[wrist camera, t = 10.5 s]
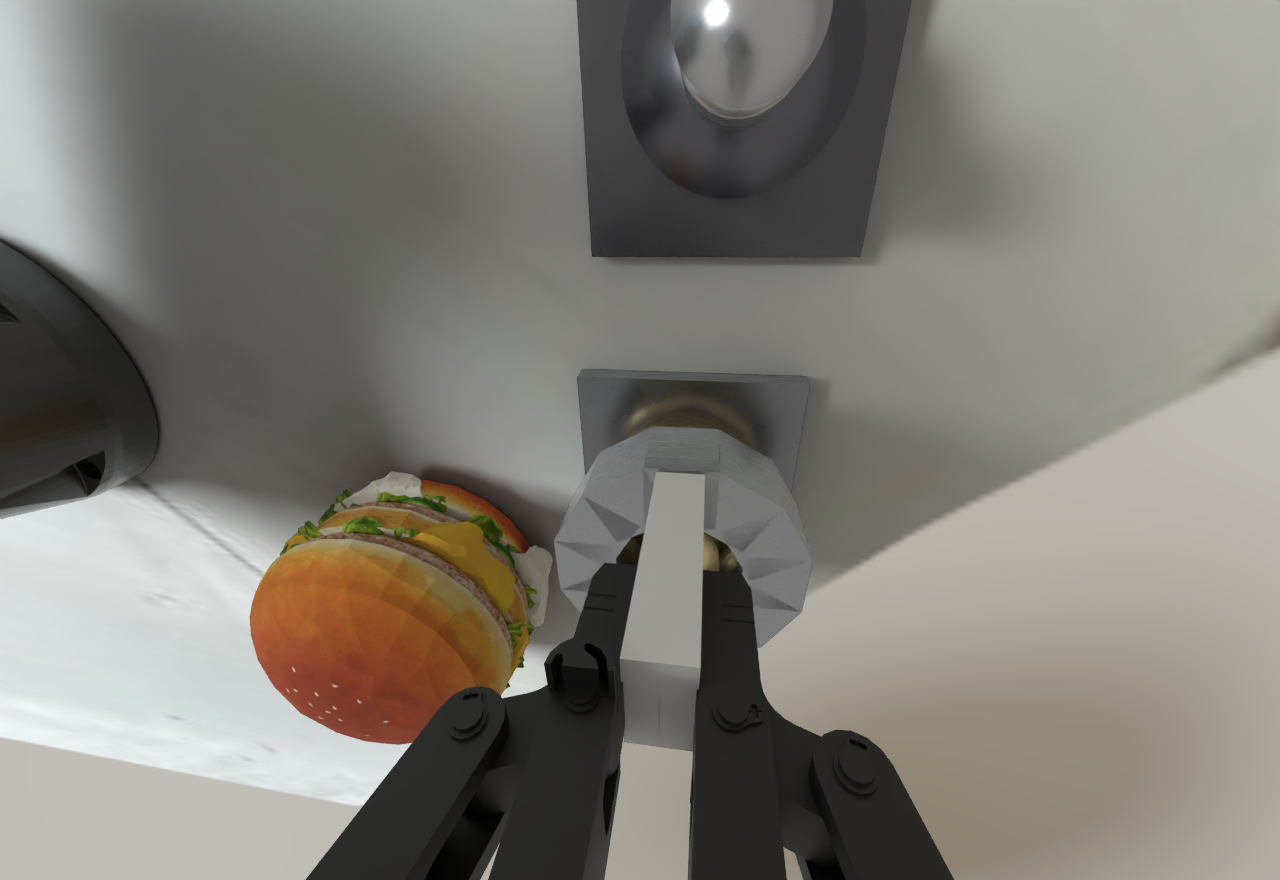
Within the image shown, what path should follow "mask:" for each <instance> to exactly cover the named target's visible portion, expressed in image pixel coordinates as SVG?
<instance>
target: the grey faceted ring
mask: <svg viewBox="0 0 1280 880" xmlns="http://www.w3.org/2000/svg"><path fill="white" fill-rule="evenodd" d="M656 472H671V473H687V474H704V475H705V494H704V532H705V533H707V534H709V535H711V536H712V537H714V538H716V539H718V540H720V541H722V542H723V543H725V544H727V545H728V546H729V548H728V549H727V550H726V551H725V552H724V553H723V554H722V555H721V556H720V557H719V571H721V572H733V573H742V575H743V576H744V578H745V580H746V581H747V583H748V585H749V586H750V588H751V590H752V600H753V611H754V620H755V630H756V640H757V648H760V647H762V646H763V645H764V644H765V643H767V642H768V641H769V640H770V639H771V638H772V637H774V636H775V635H776V634H777V633H778V632H779V631H780V630H782V629H783V628H784V627H785V626H786V625H787V624H789V623H790V622H791V621H792V620H793V619H794V618H795V617H797V616H798V615H799V614H800V613H801V612H802V609H803V604H804V600H805V595H806V590H807V586H808V581H809V576H810V572H811V567H812V562H813V561H812V557H811V554H810V550H809V546H808V543H807V539H806V535H805V532H804V528H803V524H802V521H801V517H800V513H799V510H798V507H797V505H796V503H795V501H794V499H793V497H792V496H791V494H790V492H789V490H788V488H787V486H786V484H785V482H784V480H783V479H782V477H781V475H780V473H779V471H778V469H777V467H776V465H775V463H774V462H773V460H771V459H769V458H768V457H766V456H764V455H762V454H761V453H759V452H757V451H755V450H754V449H752V448H750V447H749V446H747V445H745V444H743V443H742V442H740V441H738V440H736V439H735V438H733V437H731V436H729V435H728V434H726V433H724V432H723V431H721V430H718V429H702V428H681V427H660V426H654V427H651V428H649V429H647V430H644V431H642V432H640V433H638V434H636V435H634V436H632V437H630V438H627V439H625V440H623V441H621V442H619V443H617V444H615V445H613V446H611V447H608V448H606V449H604V450H602V451H600V453H599V455H598V456H597V458H596V460H595V461H594V463H593V465H592V466H591V468H590V469H589V471H588V473H587V474H586V476H585V478H584V479H583V481H582V483H581V484H580V486H579V487H578V489H577V491H576V492H575V494H574V497H573V499H572V501H571V503H570V506H569V508H568V510H567V512H566V515H565V517H564V519H563V521H562V523H561V526H560V528H559V530H558V532H557V535H556V537H555V539H554V547H555V554H556V562H557V569H558V577H559V584H560V590H561V591H562V592H563V593H564V594H565V596H566V597H567V598H568V599H569V600H570V602H571V603H572V604H573V605H574V606H575V608H576V609H577V610H578V611H579V612H580V613H581V612H582V610H583V606H584V603H585V599H586V596H587V593H588V590H589V586H590V583H591V580H592V577H593V575H594V574H595V573H596V572H597V571H598V570H599V569H600V567H601V566H602V565H603V564H604V563H614V564H626V565H637V566H638V558H639V553H640V548H641V547H640V545H639V544H638V543H637V541H636V540H635V538H634V536H636V535H639V534H641V533H644V532H645V527H646V522H647V517H648V511H649V506H650V501H651V496H652V491H653V486H654V481H655V476H656Z"/></svg>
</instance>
